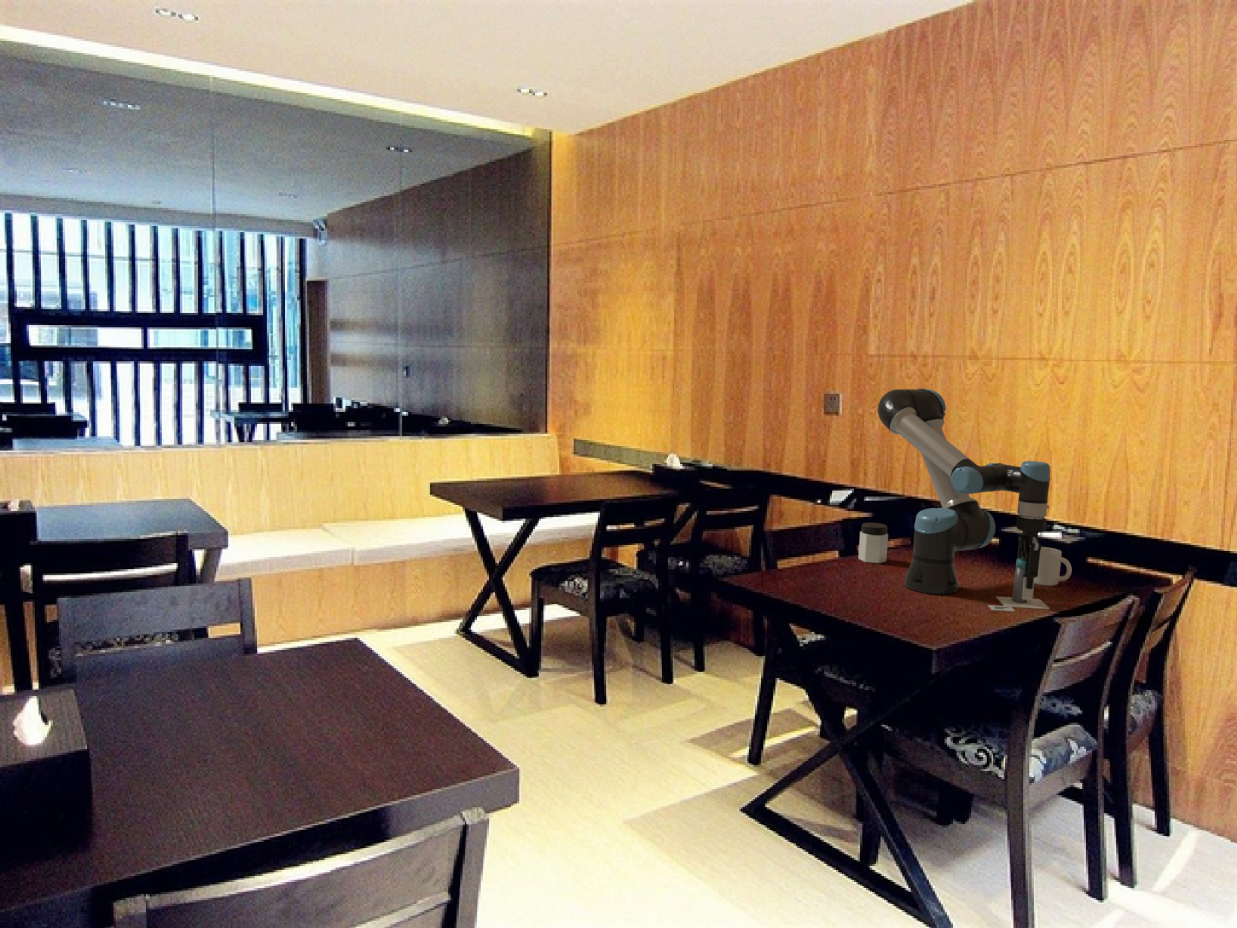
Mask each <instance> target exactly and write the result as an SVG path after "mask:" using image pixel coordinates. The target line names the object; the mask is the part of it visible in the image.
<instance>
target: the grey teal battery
mask: <svg viewBox="0 0 1237 928" xmlns="http://www.w3.org/2000/svg"><path fill="white" fill-rule="evenodd" d="M1025 564H1026V557H1021V558H1018V557H1017V558H1016V563H1015V572H1014V581H1013V588H1012V589H1013V590H1012V596H1011V597H1012V601H1014V602H1018V603H1027V600H1025V599H1022V592H1023V580H1024V577H1023V576H1022V575H1025Z"/></svg>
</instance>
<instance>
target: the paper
mask: <svg viewBox="0 0 1237 928" xmlns="http://www.w3.org/2000/svg"><path fill="white" fill-rule="evenodd" d="M995 598H996V599H997V601H999V602H1000V604H1002V606H1010V607H1012V608H1018V609H1019V608H1021V609H1034V610H1035V609H1037V610H1050V609H1051V608H1050V607H1049V606H1048V605H1047V604H1045V602H1043V601H1042V600H1041V599H1039V598H1033V600H1027V603H1018V602H1014V601H1012V596H1011V597H1010V596H996V597H995Z"/></svg>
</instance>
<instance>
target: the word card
mask: <svg viewBox="0 0 1237 928" xmlns="http://www.w3.org/2000/svg"><path fill="white" fill-rule="evenodd" d="M988 607H989V609H991V611H995V612H1012V613H1016V610H1015V609H1014V607H1010V606H1004V605H994V604H993V605H992V604H988Z"/></svg>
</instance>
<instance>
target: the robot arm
mask: <svg viewBox="0 0 1237 928" xmlns="http://www.w3.org/2000/svg"><path fill="white" fill-rule="evenodd" d="M946 406H947V405H946V402H945V400H944V398H943V396H942V395H941V394H940V393H939V392H937V391H935V390H933V389H930V388H929V389H927V388H917V389H913V388H912V389H910V388H909V389H905V388H903V389H901V388H895V389H893V390H892V389H891V390H890V391H888V392H886V393H885V394H884V395H882V397H881V398H880V400H879V402H878V405H877V415H878V418H879V420H880V422H881V423H882V424H883V425H884V426H885V427H886V429H888V430H889V432H891V433H892V434H894V435H900V436H901V437H902V438H903V439H904V440H905V441H907V442H908V443H909V444H910V445H911V446H913V447H914V448H915V449H916V450H917V451H919V452H920V454H921V456H922V460H923V461H924V464H925V467H926V469H927V471H928V475H929V477H930V479H931V482H932V485H933V487H934V490H935V491H936V492H935V493H936V495H937V497H938V499H939V502H940V505H941V507H937V508H936V507H935V508H934V507H931V508H925V509H922V510H920V511H919V512H918V513H917V514H916V516H915V522H914V527H913V528H914V533H913V547H912V548H913V549H912V560H911V563H910V565H909V567H908V570H907V572H906V574H905V576H904V577H905V578H904V586H905V588H908V589H910V590H912V591H916V592H918V593H924V594H930V595H931V594H934V595H949V594H950V595H951V594H955V593H957V592H958V591H959V581H958V576H957V573H956V569H955V565H954V564H955V563H954V561H955V552H960V551H961V552H962V551H967V550H968V551H969V550H970V551H971V550H977V549H981V548H984V547H986V546H987V545H989V544H990V543H991V542H992V540H993V538H994V535H995V533H996V522H995V520H994V517H993V516H992V514H991V513H990V512H988V511H986V510H985V509H981V506H980V505H979V502H978V500H977V499H975V498H973V497H971V496H970V495H972V494H979V493H989V492H1001V491H1004V492H1011V493H1014V494H1015V493H1016V494H1018V500H1017V512H1016V513H1017V514H1018V516H1017V517H1016V526H1015V527H1016V529H1017V530H1018V531H1021V532H1022V533H1019V534H1018V545H1017V546H1018V547H1017V548H1018V549H1017V559H1018V558H1021V557H1026V564H1025V575H1022V576H1023V577H1024V580H1023V592H1022V599H1025V600H1033V599H1034V588H1035V583H1034V578H1035V577H1038V568H1039V558H1040V550H1041V547H1043V545H1042V543H1040V538H1039V533H1044V532H1045V531H1046V528H1047V519H1046V517H1047V513H1048V509H1050V506H1049V505H1048V503H1049V492H1050V491H1049V490H1050V482H1051V466H1050V464H1049V463H1047V462H1045V461H1038V460H1037V461H1036V460H1024V461H1022V463H1021V465H1020V466H1016V465H1010V464H1005V463H1001V462H999V463H997V462H989V463H987V464H986V465H978V464H977V463H975V462H974V461H973V460H971V458H969V457H968V456H967V455H966V454H964V453H963V452H962V451H961V450H959V449H958V448H957V447H956V446H954V445H953V444H952V443H951V442H950V441H948V440H947V438H946V435H945V433H944V431H943V427H944V425H945V420H944V419H945V416H946V411H947V407H946Z"/></svg>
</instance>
